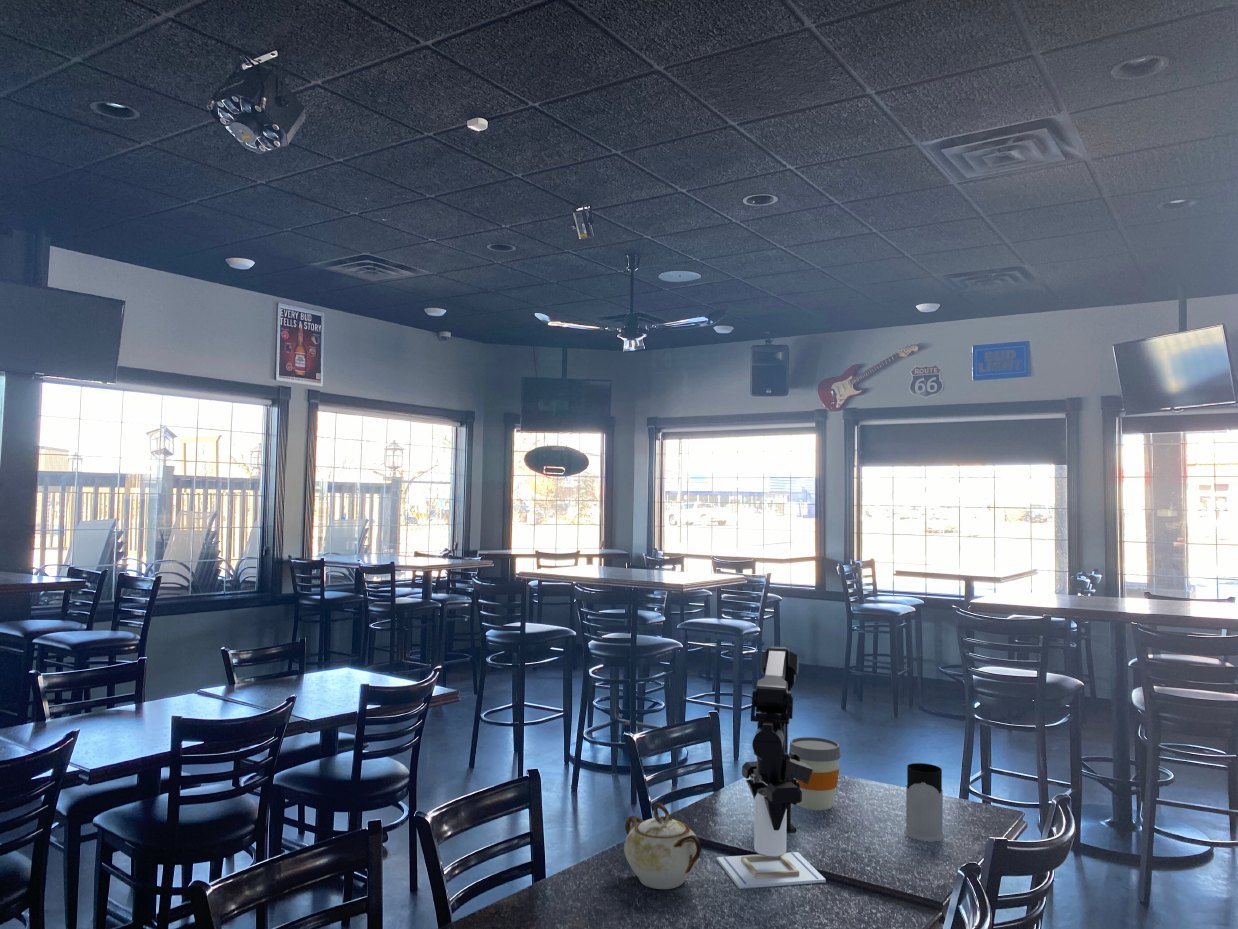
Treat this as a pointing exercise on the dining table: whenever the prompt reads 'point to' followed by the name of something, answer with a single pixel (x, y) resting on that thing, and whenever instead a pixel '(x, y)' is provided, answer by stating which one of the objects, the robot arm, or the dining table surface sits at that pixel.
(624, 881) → the dining table surface
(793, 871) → the seat frame
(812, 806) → the reusable coffee cup
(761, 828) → the can
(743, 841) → the dining table surface
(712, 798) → the dining table surface
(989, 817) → the dining table surface
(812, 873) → the grey flat tray
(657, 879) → the sugar bowl
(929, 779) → the glass holder
